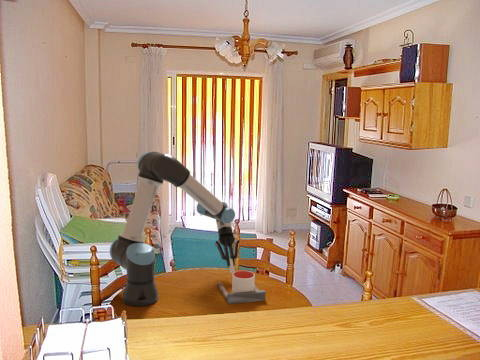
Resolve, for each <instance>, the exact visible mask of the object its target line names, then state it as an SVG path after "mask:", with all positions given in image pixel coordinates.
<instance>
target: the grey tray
mask: <svg viewBox="0 0 480 360" xmlns="http://www.w3.org/2000/svg"><path fill="white" fill-rule="evenodd" d="M216 286H217V288H218V290H219V291H220V293H221V295H222V296H223V298H224V299H225V301H226V303H227V304H228V305H233V304H242V303H255V302H261V301H263V302H264V301H266V296H267V295H266V294H267V292H266V291H265V290H264V289H261V290H260V289H259V288H258V287H257V285H256V284H255V283H254V291H248V292H237V293H232V292H231V293H230V292H228V290H227V289H226V288H225V286H224V284H223V283H222V282H217V283H216Z"/></svg>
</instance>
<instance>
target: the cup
mask: <svg viewBox="0 0 480 360" xmlns="http://www.w3.org/2000/svg"><path fill="white" fill-rule="evenodd" d="M255 276H256V275H255V273H254V272H252V271H250V270H249V271H248V270H237V271H234V273H232V281H231V285H232V286H231V293H237V292H248V291H254V284H255V281H256V280H255V278H256V277H255Z"/></svg>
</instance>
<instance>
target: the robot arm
mask: <svg viewBox="0 0 480 360" xmlns="http://www.w3.org/2000/svg"><path fill="white" fill-rule="evenodd" d="M137 168H138V171H139V172H138V175H137V178H138V179H139V180H138V181H139V184H138V186H137V189H136V193H135V195H134V199H133V201H132V205H131V208H130V211H129V213H128V216H127V220H126V224H125V225H124V226H125V227H124V229H123V231H122V232H120V233H119V234H118V236H117V238H116V239H115V240H114V241H113V242H112V243H111V244H110V247H109V256H110V258H111V259H112V261H113V262H114V263H115V264H117V266H120V267H121V268H122V269H124V270H126V284H125V286H124V290H123V293H122V296H121V297H122V302H123V303H124V304H125V305H128V306H132V307H145V306H149V305H150V306H151V305H152V304H155V303H156V302H157V301H158V299H159V291H158V289H157V286H156V282H155V263H156V261H155V260H156V254H155V249H154V247H153V246H152V245H150V244H148V243H145V240H144V237H143V234H144V231H145V230H146V229H145V228H146V225H147V223H148V220H149V217H150V213H151V211H152V206H153V204H154V201H155V199H156V194H157V191H158V188H159V187H160V186H161V185H163V184H164V182H167V183H170V184H171V185H172V186H174V187H175V188H180V189H181V190H182V191H183V192H185V193H186V194H187V195H188V196H189V197H190V198H192V199H193V200H194V201H196V202H197V205H196V211H197V213H198V214H199V215H201V216H205V217H208V218H211V219H214V220H215V222H216V229H217V234H218V240H216V241H215V242H214V246H215V247H216V248H217V250H218V252H219V254H220V257H221V259H222V260H223V261H225V262H226V266H227V267H229V273H230V274H233V273H234V272H235V265H236V262H235V260H237V258H238V256H239V255H238V254H239V243H240V242H241V241H240V240H239V239H238V240H237V239H236V238H235V236H234V232H233V228H232V222H233V221H234V220H235V217H236V212H235V210H234V209H233V208H231V207H229V206H228V203H227V202H225V201H221V200H219V199H218V197H216V196H215V195H214V194H213V193H212V192H210V190H208V189H207V188H206V187H205V186H204V185H203V184H202V183H200V182H199V181H198V180H197V179H196V178H195V177H194V176H193V175H192V174H191V171H190V170H189V169H188V168H187V167H186V166H185V165H184V164H183V163H181V161H179V160H178V159H177V158H176V157H174V156H172V155H171V154H169V153H163V152H159V151H148V152H145V153H143V154H142V155H140V157H139V158H138V161H137ZM233 244H234V247H233ZM222 247H223V248H222ZM233 248H234V249H233Z"/></svg>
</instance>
